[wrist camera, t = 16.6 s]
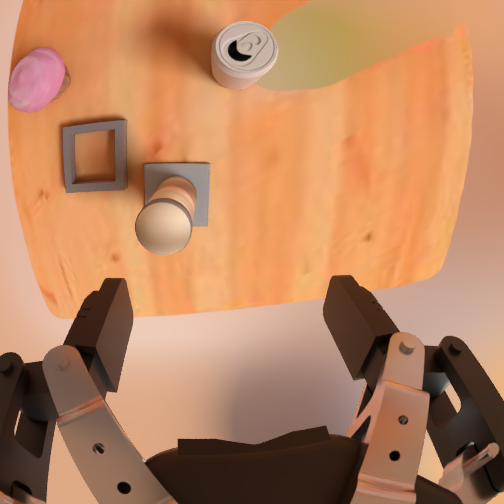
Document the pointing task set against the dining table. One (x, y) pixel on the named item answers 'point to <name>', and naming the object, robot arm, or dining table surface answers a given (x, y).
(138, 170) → the dining table surface
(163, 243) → the beige tall cylinder
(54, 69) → the cupcake
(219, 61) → the beverage can
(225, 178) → the dining table surface
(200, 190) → the mat
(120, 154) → the socket collar
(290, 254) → the dining table surface
